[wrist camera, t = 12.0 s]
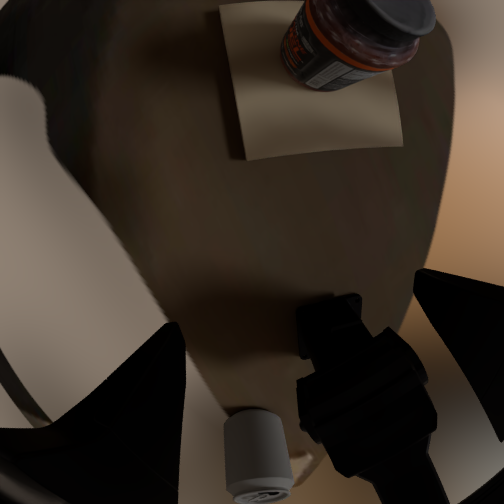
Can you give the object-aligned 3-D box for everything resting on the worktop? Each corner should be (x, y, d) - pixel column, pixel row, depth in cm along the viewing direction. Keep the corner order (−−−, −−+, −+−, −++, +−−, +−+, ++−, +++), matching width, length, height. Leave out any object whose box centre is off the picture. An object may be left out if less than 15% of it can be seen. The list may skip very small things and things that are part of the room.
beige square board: (395, 145, 20) (403, 146, 19) (245, 160, 19) (247, 160, 18) (368, 14, 15) (373, 9, 14) (219, 12, 15) (219, 5, 14)
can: (291, 418, 31) (309, 494, 20) (249, 439, 33) (257, 509, 21) (255, 397, 29) (268, 486, 18) (211, 420, 30) (212, 501, 19)
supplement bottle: (271, 26, 15) (314, -67, 4) (345, 29, 15) (429, -32, 4) (283, 95, 17) (352, 39, 6) (358, 95, 17) (466, 68, 7)
